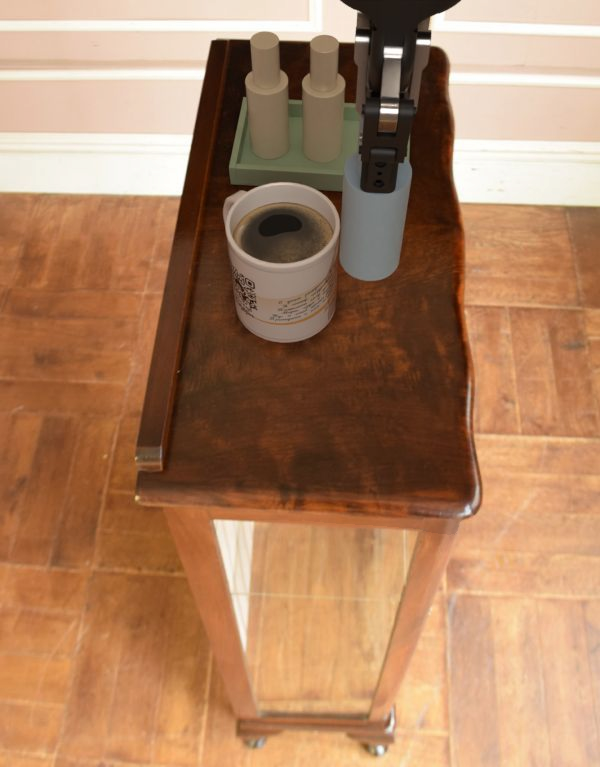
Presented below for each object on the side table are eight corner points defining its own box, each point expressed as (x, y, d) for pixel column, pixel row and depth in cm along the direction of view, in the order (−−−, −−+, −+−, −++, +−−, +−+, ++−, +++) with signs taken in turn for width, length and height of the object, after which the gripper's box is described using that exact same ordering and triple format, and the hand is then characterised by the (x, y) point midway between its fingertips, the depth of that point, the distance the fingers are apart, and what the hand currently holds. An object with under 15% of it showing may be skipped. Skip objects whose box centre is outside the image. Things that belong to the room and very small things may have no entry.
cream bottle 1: (291, 133, 87) (289, 27, 76) (287, 160, 85) (284, 55, 74) (252, 131, 87) (245, 25, 76) (247, 158, 85) (238, 53, 74)
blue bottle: (399, 237, 58) (421, 90, 47) (398, 283, 56) (420, 139, 45) (341, 233, 58) (348, 86, 47) (337, 279, 56) (344, 136, 45)
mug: (227, 345, 73) (215, 268, 63) (228, 248, 79) (217, 165, 69) (339, 341, 73) (344, 264, 63) (331, 245, 79) (335, 161, 70)
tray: (408, 123, 88) (411, 106, 86) (406, 195, 83) (408, 179, 80) (244, 114, 90) (243, 96, 88) (230, 184, 84) (228, 167, 82)
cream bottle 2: (343, 136, 87) (348, 30, 75) (340, 164, 84) (345, 58, 73) (304, 134, 87) (303, 28, 76) (300, 161, 85) (299, 56, 73)
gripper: (499, -29, 31) (437, 256, 46) (485, -190, 38) (436, 100, 53) (313, -37, 32) (311, 248, 46) (335, -195, 39) (327, 95, 54)
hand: (378, 168), depth 50 cm, fingers closed on blue bottle, 3 cm apart
